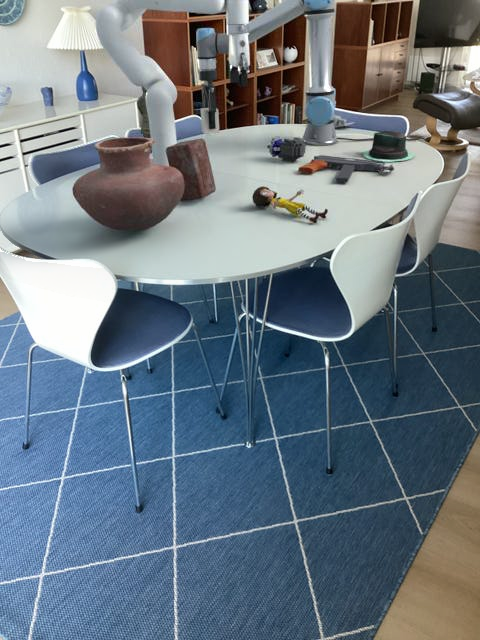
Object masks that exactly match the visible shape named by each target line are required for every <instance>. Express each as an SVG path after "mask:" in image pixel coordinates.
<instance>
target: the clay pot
mask: <svg viewBox="0 0 480 640" xmlns="http://www.w3.org/2000/svg"><path fill="white" fill-rule="evenodd" d="M153 143H154V140H153V139H151V138H144V137H142V136H141V137H140V136H131V137H124V136H123V137H122V136H121V137H112V138H107V139H102V140H99V141H98V142H96V143H95V144H94V147H93V148H94V150H96V151H97V153H98V156H99V168H96V169H93V170H90V171H87V172H86V173H85V174H83V175H81V176H80V177H79V178H77V179H76V181H75V182H74V184H73V186H72V195H73V197H74V199H75V201H76V202H77V204H78V205H79V206H80V207H81V209H82V210H83V211H84V212H85V213H86V214H87V215H88V216H89V217H90V218H91V219H93V220H94V222H97V223H99V224H100V225H102V226H104V227H105V228H107V229H110V230H115V231H119V232H121V231H122V232H130V231H141V230H147V229H151V228H154V227H155V226H157V225H159V224H160V223H162V222H163V221H164V220H166V219H167V218H168V217H169V216H170V215H171V213H173V211H174V210H175V208H176V207H177V206H178V204H179V203H180V202H181V201H180V200H181V198H182V196H183V193H184V188H185V184H184V178H183V175H182V173H181V172H180V171H179V170H177V169H176V168H174V167H170V166H164V165H158V164H154V163H152V162H151V160H150V158H151V151H150V148H151V146H152V144H153Z"/></svg>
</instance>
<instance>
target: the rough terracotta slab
mask: <svg viewBox="0 0 480 640" xmlns="http://www.w3.org/2000/svg"><path fill="white" fill-rule="evenodd" d="M166 155H167V159H168V163H169V166H170V167H174V168H176V169H177V170H179V171H180V172H181V173H182V175H183V178H184V184H185V188H184V193H183V196H182V198H181V200H180V201H179V202H185V201H195V200H202V199H204V198H206V197H208V196H210V195H211V194H213V193H215V192H216V189H217V187H216V183H215V178H214V172H213V169H212V164H211V160H210V155H209V152H208V147H207V143H206V141H205V139H204V138H197V139H190V140H185V141H179V142H177V144H175V145H172V146H170V147H167V148H166Z"/></svg>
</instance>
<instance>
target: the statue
mask: <svg viewBox="0 0 480 640" xmlns="http://www.w3.org/2000/svg"><path fill="white" fill-rule="evenodd" d="M140 87H141V90H142V94H141V96H139V97H138V99H137V100H136V106H137V110H138V111H139V113H140V115H141V117H142V118H141V126H140V133H141V135H142V136H143V138H151V135H150V126H149V118H148V112H147V107H146V93H147V90H146V89H145V88H144V87H143V86H140ZM150 152H152V146H151V148H150Z"/></svg>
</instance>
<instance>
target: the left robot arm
mask: <svg viewBox="0 0 480 640" xmlns="http://www.w3.org/2000/svg"><path fill="white" fill-rule="evenodd" d="M249 3H250V2H249V0H117V1H116V2H115V3H108V4H105V5H103V6H102V7H101V8H100V9H99V11H97V14H96V17H95V22H94V30H95V35H96V38H97V40H98V42H99V44H100V45H101V47H102V49H103V50H105V52H106V54H107V55H108V56H109V57H110V58H111V59H112V61H113V62H114V63H115V65H116V66H117V67H118V68H119V69H120V71H121V72H122V73H123V74H124V75H125V77H126V78H127V79H128V81H130V83H131V84H133V85H134V86H136V87H141V86H143V87H144V88H145V89H146V90H147V93H146V107H147V112H148V118H149V126H150V135H151V139H153V140H154V143H153V144H152V151H151V155H152V158H151V157H150V160H151V162H152V163H154V164H158V165H164V166H169V163H168V159H167V155H166V148H167V147H170V146H172V145H175V144H177V143H178V141H177V129H176V118H175V112H174V104H175V102H176V101H177V98H178V90H177V88H176V86H175V84H174V83H173V81H172V80H171V79H170V78H169V76H168V75H167V74H166V73H165V72H164V71H163V69H162V67H160V65H158V63H157V62H156V61H155V60H154V59H153V58H152V57H150V56H148V55H145V54H143V55H141V54H140V52H138V50H137V49H136V48H135V46H134V45H133V44H132V43H131V41H129V39H128V38H126V37H125V36H124V34H123V32H122V31H125V30H127V29H129V28H130V27H131V26H132V25H133V24H134V23H135V22H137V20H138V19H139V18H140V17H141V16H142V15H143V14H144V13H145V12H146V11H147V10H150V11H151V10H153V11H162V12H163V11H164V12H173V13H180V12H183V13H194V14H195V13H196V14H205V15H216V14H221V13H225V17H226V18H225V21H226V22H225V23H226V33H227V35H229V54H228V63H229V81H230V84H238V85H237V86H238V87H239V88H240V87H241V88H242V87H247V86H249V84H248V82H249V81H248V77H249V75H248V74H249V73H248V72H249V71H248V68H249V67H250V65H251V61H250V60H251V59H250V44H249V42H248V35H249V24H248V23H249V22H250V20H249V19H250V15H249V14H250V13H249V12H250V11H249V10H250V9H249V6H250V5H249Z"/></svg>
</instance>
